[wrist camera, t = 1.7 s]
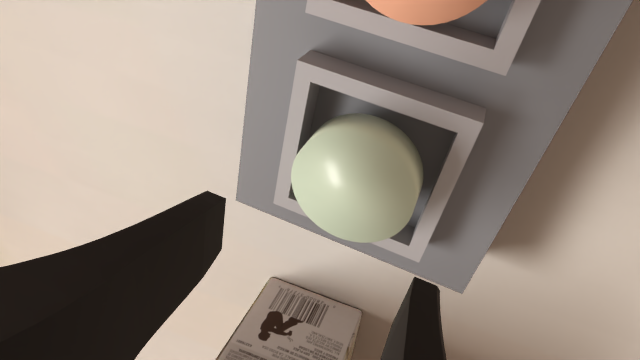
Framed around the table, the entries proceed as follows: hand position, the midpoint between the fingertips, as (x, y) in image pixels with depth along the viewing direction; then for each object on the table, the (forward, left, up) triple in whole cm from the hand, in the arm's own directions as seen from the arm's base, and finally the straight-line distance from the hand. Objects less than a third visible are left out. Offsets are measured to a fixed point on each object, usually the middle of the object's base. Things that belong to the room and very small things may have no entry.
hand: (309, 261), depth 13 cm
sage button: (0, 0, -5) cm, 5 cm away
